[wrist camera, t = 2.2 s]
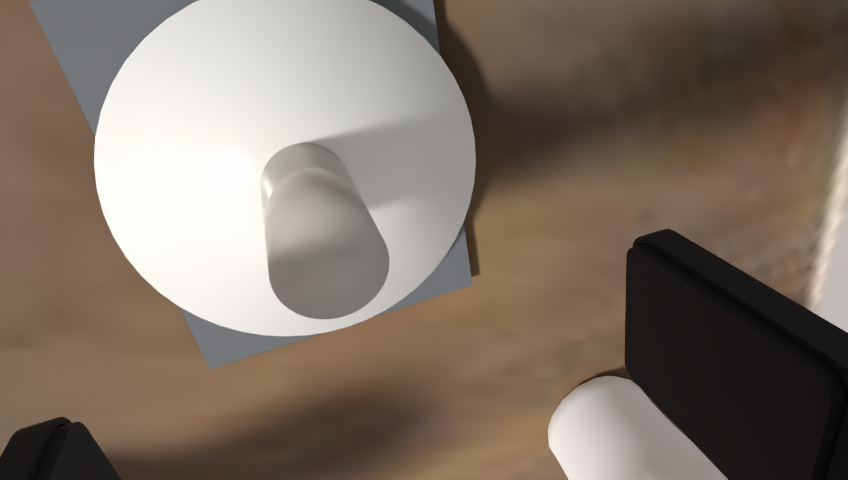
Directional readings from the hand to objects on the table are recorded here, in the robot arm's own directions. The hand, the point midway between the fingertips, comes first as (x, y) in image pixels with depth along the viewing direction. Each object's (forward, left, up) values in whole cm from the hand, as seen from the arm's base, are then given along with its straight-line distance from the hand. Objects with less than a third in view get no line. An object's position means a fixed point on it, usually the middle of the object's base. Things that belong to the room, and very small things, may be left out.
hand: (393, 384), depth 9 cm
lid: (-1, 0, -9) cm, 9 cm away
